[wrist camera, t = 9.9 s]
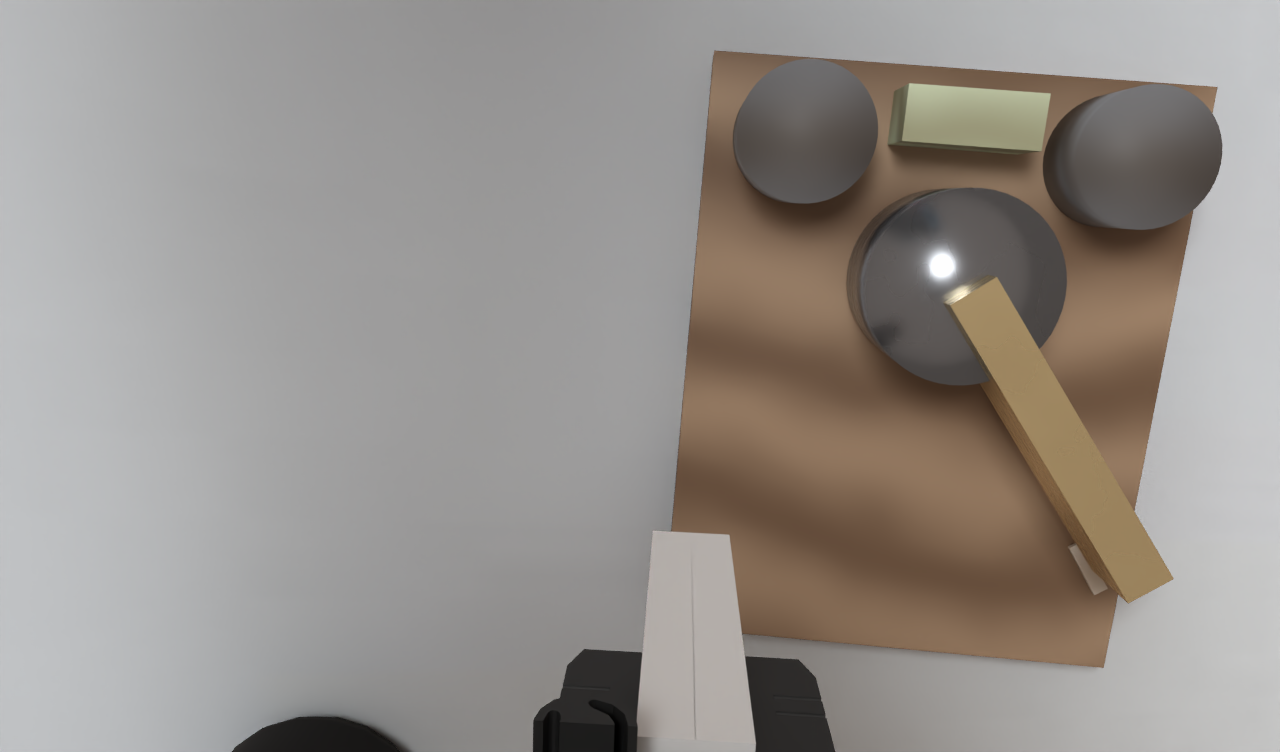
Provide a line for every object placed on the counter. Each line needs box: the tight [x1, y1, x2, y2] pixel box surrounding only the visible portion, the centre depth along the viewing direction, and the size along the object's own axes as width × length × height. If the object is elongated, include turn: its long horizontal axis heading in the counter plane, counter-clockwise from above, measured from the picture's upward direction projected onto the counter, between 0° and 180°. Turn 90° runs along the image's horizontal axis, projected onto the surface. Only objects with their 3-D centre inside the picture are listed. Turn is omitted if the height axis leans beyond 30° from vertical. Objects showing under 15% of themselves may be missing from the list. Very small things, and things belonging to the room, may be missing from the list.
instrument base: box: [671, 51, 1222, 668], centre depth 36 cm, size 24×19×5 cm
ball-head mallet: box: [846, 188, 1173, 603], centre depth 34 cm, size 16×7×5 cm, turn 33°
